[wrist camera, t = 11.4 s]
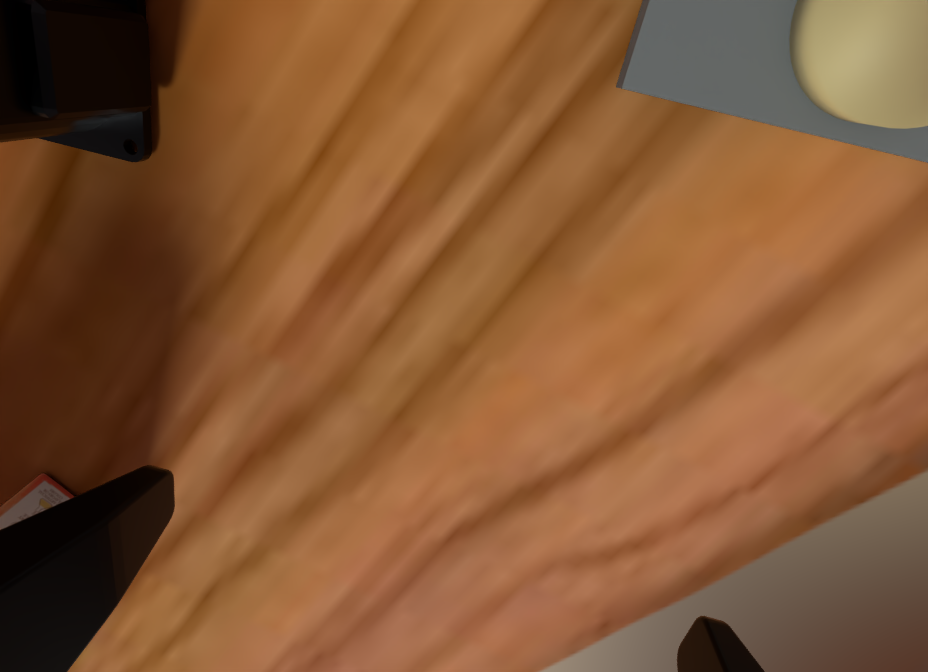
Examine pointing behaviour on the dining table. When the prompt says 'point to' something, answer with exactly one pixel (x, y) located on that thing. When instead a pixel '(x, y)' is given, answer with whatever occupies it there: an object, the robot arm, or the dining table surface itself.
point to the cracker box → (32, 500)
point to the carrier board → (792, 65)
